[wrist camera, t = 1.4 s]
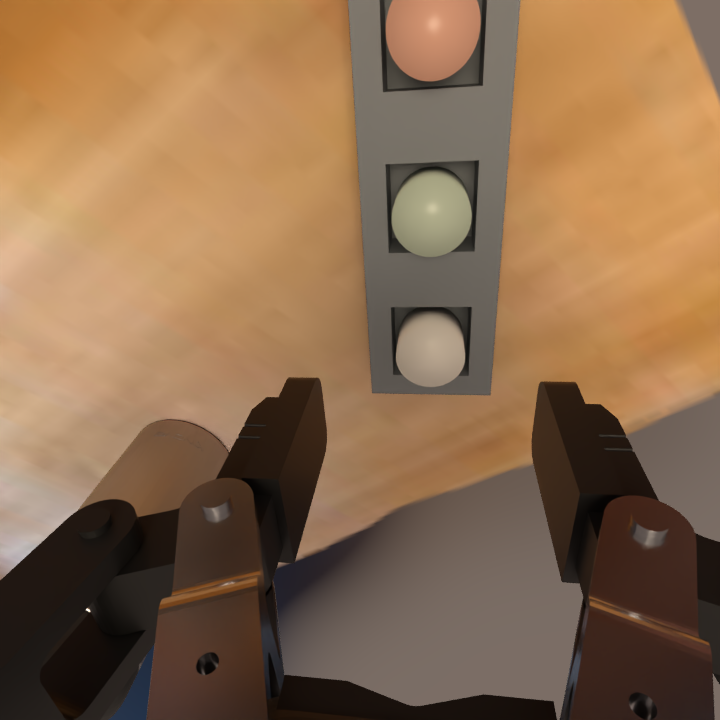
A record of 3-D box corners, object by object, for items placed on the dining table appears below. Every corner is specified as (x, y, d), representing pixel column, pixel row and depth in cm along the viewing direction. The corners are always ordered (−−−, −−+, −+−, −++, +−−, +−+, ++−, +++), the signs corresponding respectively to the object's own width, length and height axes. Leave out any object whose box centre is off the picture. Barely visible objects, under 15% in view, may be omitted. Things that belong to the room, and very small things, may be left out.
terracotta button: (473, 76, 26) (478, 78, 24) (392, 81, 27) (387, 84, 24) (477, -25, 24) (483, -36, 22) (389, -17, 25) (383, -26, 22)
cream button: (461, 361, 35) (463, 387, 32) (399, 361, 36) (396, 386, 33) (464, 305, 33) (466, 327, 30) (398, 305, 33) (394, 327, 31)
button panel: (485, 365, 38) (490, 395, 35) (377, 363, 39) (372, 393, 36) (514, -68, 26) (527, -87, 22) (355, -51, 27) (343, -67, 23)
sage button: (466, 238, 31) (469, 256, 28) (396, 240, 31) (392, 257, 29) (469, 164, 29) (473, 175, 26) (394, 167, 29) (390, 179, 26)
